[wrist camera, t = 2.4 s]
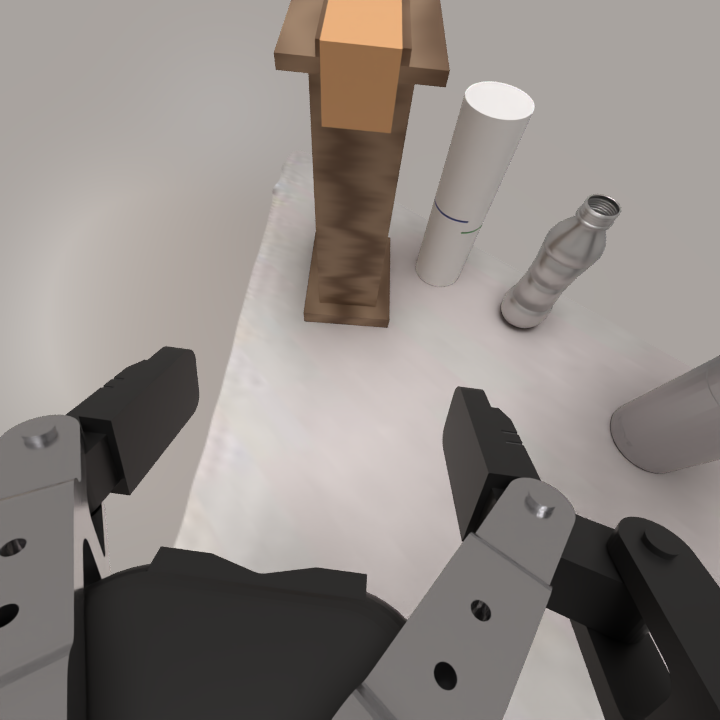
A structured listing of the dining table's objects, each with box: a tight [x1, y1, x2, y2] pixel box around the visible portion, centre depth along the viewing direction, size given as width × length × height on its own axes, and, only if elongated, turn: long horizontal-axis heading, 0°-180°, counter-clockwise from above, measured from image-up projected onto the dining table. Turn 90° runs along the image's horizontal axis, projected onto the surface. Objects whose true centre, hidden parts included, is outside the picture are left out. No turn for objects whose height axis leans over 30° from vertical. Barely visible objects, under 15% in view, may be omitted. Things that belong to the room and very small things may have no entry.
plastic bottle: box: [501, 194, 621, 328], centre depth 47 cm, size 6×7×20 cm
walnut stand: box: [274, 0, 450, 328], centre depth 42 cm, size 12×16×33 cm
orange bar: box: [320, 0, 403, 133], centre depth 24 cm, size 4×20×4 cm, turn 177°
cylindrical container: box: [416, 81, 534, 287], centre depth 48 cm, size 7×7×25 cm
